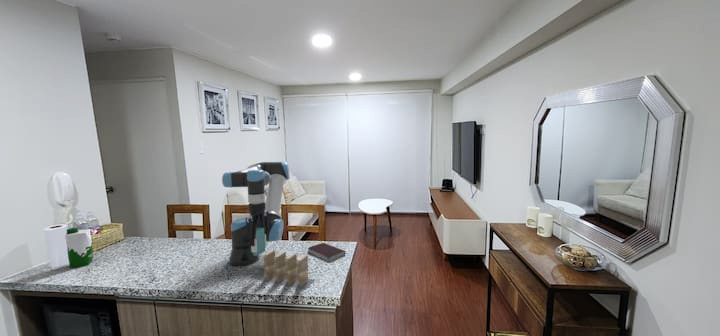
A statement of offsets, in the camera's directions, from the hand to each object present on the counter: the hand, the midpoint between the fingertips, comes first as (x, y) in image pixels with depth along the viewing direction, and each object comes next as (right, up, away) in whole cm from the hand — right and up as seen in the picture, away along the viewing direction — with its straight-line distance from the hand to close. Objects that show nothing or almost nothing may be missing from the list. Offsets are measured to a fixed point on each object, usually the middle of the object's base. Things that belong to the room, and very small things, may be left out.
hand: (259, 249), depth 134 cm
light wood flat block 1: (+6, -13, -1) cm, 14 cm away
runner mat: (+12, -14, -3) cm, 18 cm away
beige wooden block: (+11, -13, -3) cm, 18 cm away
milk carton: (-101, -13, +16) cm, 103 cm away
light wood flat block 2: (+17, -13, -5) cm, 22 cm away
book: (+29, -11, +27) cm, 41 cm away
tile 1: (+23, -13, -7) cm, 27 cm away
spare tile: (0, -2, 0) cm, 2 cm away
